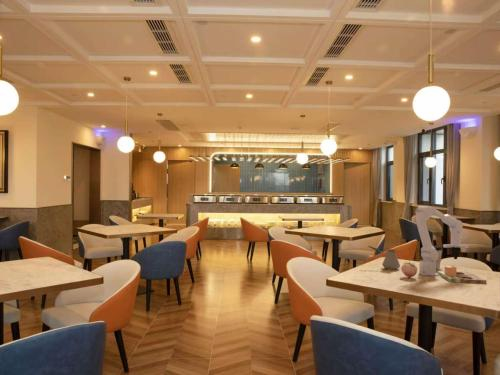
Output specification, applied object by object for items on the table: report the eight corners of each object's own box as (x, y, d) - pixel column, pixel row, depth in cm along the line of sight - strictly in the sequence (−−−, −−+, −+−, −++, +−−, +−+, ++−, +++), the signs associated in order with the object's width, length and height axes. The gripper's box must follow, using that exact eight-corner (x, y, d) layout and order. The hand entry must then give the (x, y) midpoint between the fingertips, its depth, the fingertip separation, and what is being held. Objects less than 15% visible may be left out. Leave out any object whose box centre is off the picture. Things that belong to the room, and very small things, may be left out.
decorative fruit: (420, 278, 242) (420, 262, 242) (411, 279, 238) (412, 263, 238) (407, 275, 250) (407, 259, 250) (398, 276, 246) (399, 260, 246)
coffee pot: (399, 268, 274) (400, 246, 274) (400, 271, 263) (400, 248, 264) (367, 265, 282) (368, 244, 282) (366, 268, 271) (367, 246, 271)
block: (447, 275, 243) (447, 267, 243) (444, 273, 248) (445, 265, 248) (456, 275, 242) (456, 267, 242) (453, 274, 247) (453, 266, 247)
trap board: (449, 281, 234) (449, 278, 234) (437, 273, 257) (437, 270, 257) (486, 283, 231) (486, 280, 231) (471, 275, 254) (471, 272, 254)
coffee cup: (444, 269, 271) (444, 247, 271) (429, 269, 273) (429, 247, 273) (440, 267, 280) (440, 245, 280) (426, 266, 282) (426, 245, 282)
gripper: (445, 238, 257) (445, 259, 257) (469, 239, 254) (469, 260, 254) (442, 237, 264) (442, 257, 264) (465, 237, 261) (465, 258, 261)
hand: (455, 258), depth 260 cm, fingers closed
